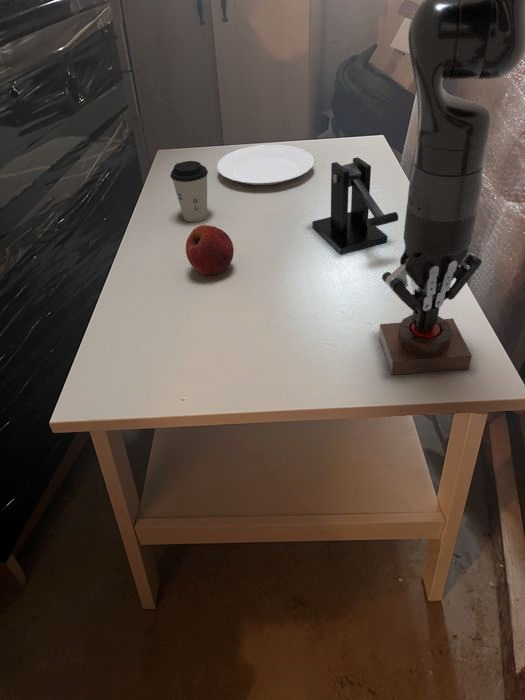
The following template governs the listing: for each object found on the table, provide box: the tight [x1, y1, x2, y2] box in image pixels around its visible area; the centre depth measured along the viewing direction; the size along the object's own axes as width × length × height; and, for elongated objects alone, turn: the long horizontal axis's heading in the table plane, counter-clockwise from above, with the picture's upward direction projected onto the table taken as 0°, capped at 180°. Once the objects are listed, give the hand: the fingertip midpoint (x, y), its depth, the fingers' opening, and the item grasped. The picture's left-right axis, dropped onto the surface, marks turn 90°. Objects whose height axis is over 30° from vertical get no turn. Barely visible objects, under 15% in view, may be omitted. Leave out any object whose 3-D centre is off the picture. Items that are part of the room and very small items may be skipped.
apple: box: [185, 224, 235, 276], centre depth 95 cm, size 7×8×8 cm
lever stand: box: [311, 156, 388, 255], centre depth 100 cm, size 11×9×13 cm
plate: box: [216, 144, 315, 186], centre depth 126 cm, size 21×21×2 cm
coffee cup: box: [170, 160, 209, 223], centre depth 110 cm, size 7×7×10 cm
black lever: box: [341, 162, 399, 228], centre depth 94 cm, size 13×5×2 cm, turn 22°
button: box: [411, 323, 440, 339], centre depth 76 cm, size 4×4×2 cm
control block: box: [378, 313, 473, 376], centre depth 77 cm, size 10×8×4 cm
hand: (423, 328), depth 75 cm, fingers closed
